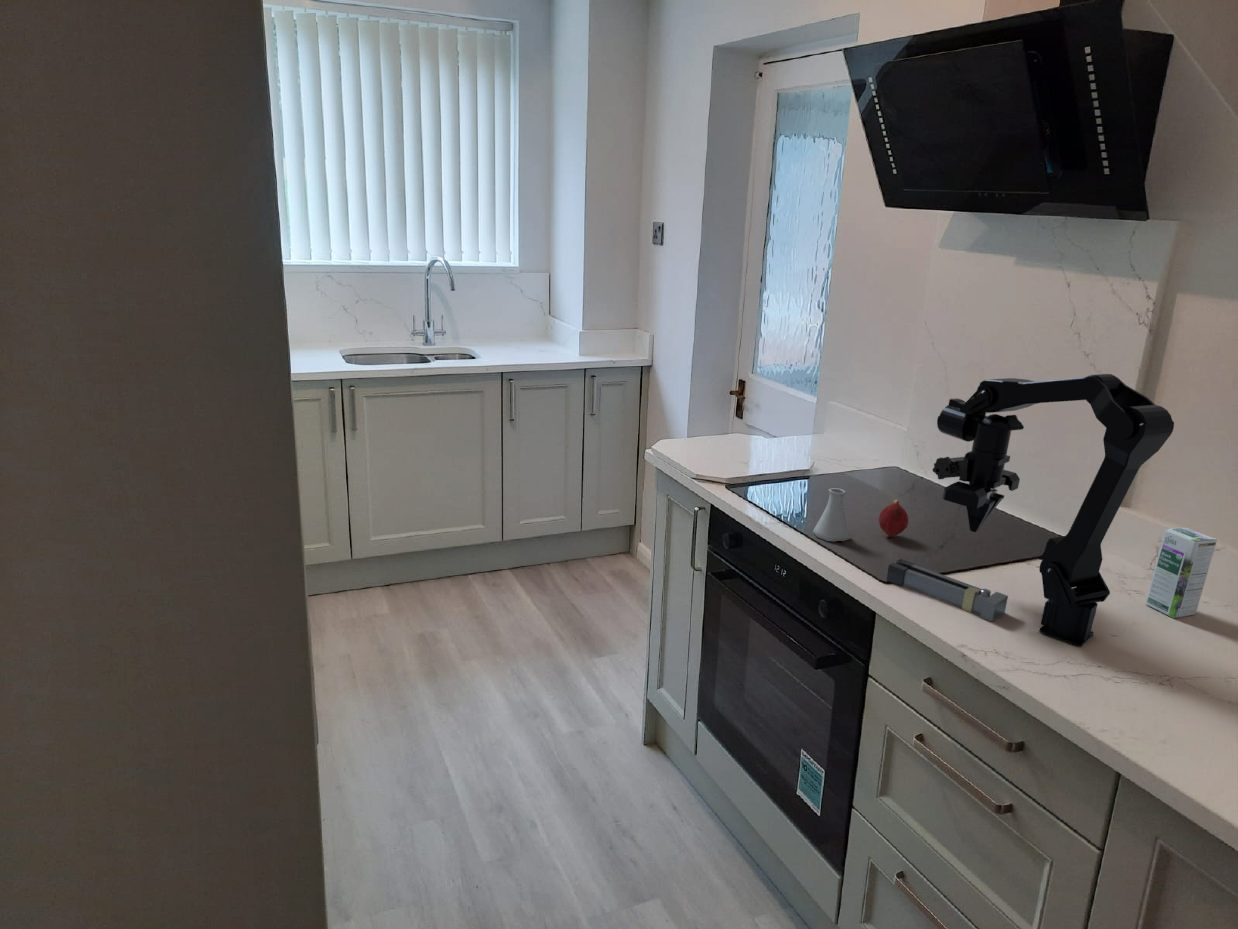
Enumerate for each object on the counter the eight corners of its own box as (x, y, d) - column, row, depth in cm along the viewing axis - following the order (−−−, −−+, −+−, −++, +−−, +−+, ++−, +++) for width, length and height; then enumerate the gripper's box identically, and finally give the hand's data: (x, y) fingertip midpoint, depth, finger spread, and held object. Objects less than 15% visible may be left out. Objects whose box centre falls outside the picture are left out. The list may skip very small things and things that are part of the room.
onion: (906, 543, 173) (912, 506, 171) (877, 540, 174) (883, 503, 172) (903, 533, 179) (909, 497, 176) (875, 530, 180) (880, 494, 177)
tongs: (1004, 612, 145) (1008, 593, 144) (992, 622, 141) (996, 602, 140) (898, 574, 158) (901, 556, 157) (884, 581, 155) (887, 563, 154)
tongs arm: (989, 607, 146) (993, 590, 145) (984, 610, 145) (988, 593, 144) (898, 573, 158) (901, 557, 157) (893, 576, 157) (895, 560, 156)
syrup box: (1143, 604, 151) (1163, 528, 147) (1167, 600, 153) (1187, 525, 149) (1173, 619, 146) (1194, 541, 142) (1197, 615, 148) (1219, 538, 144)
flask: (856, 541, 173) (863, 495, 170) (826, 544, 170) (832, 497, 168) (835, 528, 180) (841, 483, 177) (806, 531, 177) (812, 486, 174)
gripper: (968, 430, 161) (953, 507, 166) (921, 446, 149) (907, 529, 153) (1028, 444, 154) (1011, 524, 158) (984, 462, 141) (967, 549, 146)
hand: (973, 531), depth 154 cm, fingers closed
